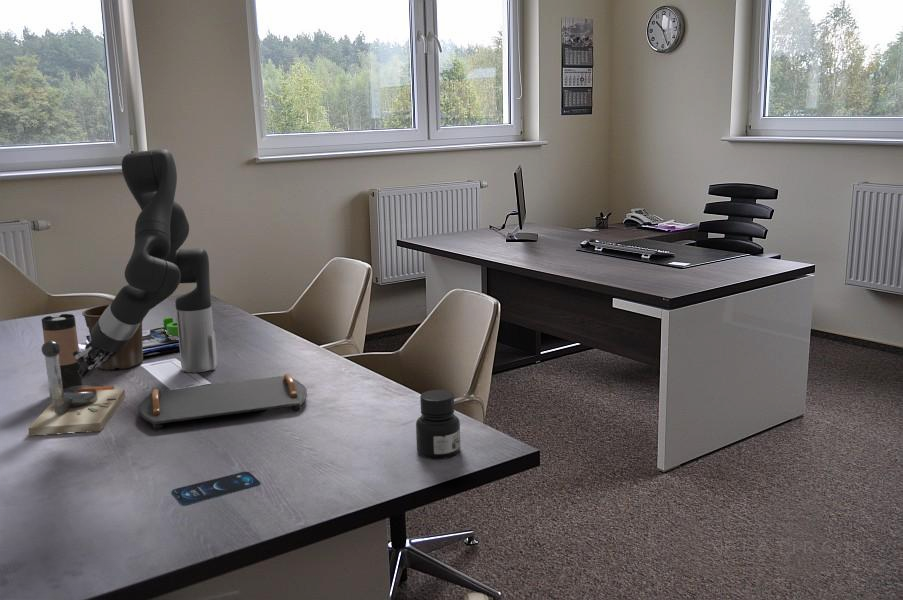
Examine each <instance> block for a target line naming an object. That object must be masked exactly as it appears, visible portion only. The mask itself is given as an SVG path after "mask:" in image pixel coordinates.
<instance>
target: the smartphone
mask: <svg viewBox="0 0 903 600" xmlns="http://www.w3.org/2000/svg"><path fill="white" fill-rule="evenodd" d="M261 483H262V482H261V481H260V480H259V479H257V478H256V477H255V476H254V475H253V474H252V473H251V472H250V471H240V472H237V473H233V474H229V475H224V476H221V477H217V478H214V479H212V478H211V479H209V480H208V479H207V480H205V481H202V482H197V483H193V484H189V485H185V486H181V487H177V488H174V489H172V490H171V494H172V495H173V496H174V498H175V499H176V500H177V502H178V503H179V502H180V503H179V504H180V505H181V504H182V506H189V505H192V504H191V503H193V504H196V503H200V502H199V501H201V502H203V501H202V500H204V501H207V500H206V499H208V500H211V499H210V498H212V499H214V498H213V497H215V498H218V497H217V496H219V497H222V496H225V495H224V494H226V495H229V494H228V493H230V494H232V492H233V493H236V491H237V492H240V491H239V490H241V491H244V490H248V489H251V487H252V488H256V487H258V486H260V485H261ZM255 486H256V487H255ZM243 489H244V490H243ZM221 495H222V496H221ZM195 502H196V503H195ZM188 504H189V505H188Z"/></svg>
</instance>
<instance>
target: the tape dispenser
mask: <svg viewBox="0 0 903 600" xmlns="http://www.w3.org/2000/svg"><path fill="white" fill-rule="evenodd" d="M175 317H176V318H175V319H176V320H177V316H175ZM162 324H163V329H164V328H167V334H169V335H175V336H178V325H177V321H174V319H173V317H172V316H169V317H164V318H163V320H162Z"/></svg>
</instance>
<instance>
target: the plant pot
mask: <svg viewBox="0 0 903 600" xmlns="http://www.w3.org/2000/svg"><path fill="white" fill-rule="evenodd" d="M110 304H111V303H110ZM110 304H104V305H96V306H93V307H90V308H87V309H85V310H84V311H82V312H81V315H82V316H83V317H84V321H85V323H86V328H87V329H88V332H89V336H90V338H91V331H92V329H93V327H94V326H95V324H96V323H97V321H98V320H99V318H100V317H101V315H102V314H103V312H104V311H105V310H106V308H107V307H108V306H109V305H110ZM143 322H144V319H143V320H142V321H141V323H140V325H139V327H138V329H137V330H136V332H135V333H134V335H133V336H132V337H131V339H130V340H129V342H128V343H127V344H126V347H125V348H124V349H123V350H122V351H120V352H119V353H118V354H116V355H115V356H114V357H112V358H111V359H110V360H109V361H107V362H106V363H101V364H100V365H99V366H98V367H97V368H98V369H99V370H103V371H114V370H115V369H120V370H124V369H131V368H135V367H137V366H138V365H140V364H142V363H143V361H144V352H143V350H144V349H143Z"/></svg>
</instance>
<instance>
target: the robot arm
mask: <svg viewBox="0 0 903 600" xmlns="http://www.w3.org/2000/svg"><path fill="white" fill-rule="evenodd" d="M121 172H122V175H123V176H122V177H123V179H124V181H125V183H126V187H127V188H128V189H129V191H130V192H131V196H132V197H133V198H134V200H135V201H136V203H137V204H138V206H139V208H140V210H141V211H140V213H139V214H138V216H137V219H136V220H135V226H134V246H133V250H132V253H131V255H130V258H129V260H128V261H127V264H126V266H125V269H124V278H125V281H126V282H127V285H125V286H123V287H122V288H121V289H120V290H119V292H117V294H116V295H115V297H114V299H113V300H112V302H110V305H109V306H108V307H107V308H106V310H105V311H104V312H103V314H102V315H101V317H100V318H99V320H98V321H97V323H96V324H95V326H94V327H93V329H92V331H91V337H90V341H89V342H88V343H86V345H85V347H84V349H83V350H82V351H80V350H79V352H78V351H75V352H74V353H73V356H74V358H75V359H76V361H77V362H78V363H79V365H80V366H81V367H80V368H79V370H78V373H79V375H80V376H81V377H82V379H85V378H89V377H90V375H92V373H93V372H94V370H95V369H96V368H98V366H99V365H100V364H101V363H106V362H107V361H109V360H110V359H111V358H112V357H114V356H115V355H116V354H118V353H119V352H120V351H122V350H123V349H124V348H125V347H126V344H127V343H128V342H129V340H130V339H131V337H132V336H133V335H134V333H135V332H136V330H137V329H138V327H139V325H140V323H141V321H142V320H143V321H144V320H145V318H146V317H147V315H148V313H149V312H150V311H151V310H152V309H154V308H156V306H159V304H160V303H162V302H164V301H165V300H166V299H168V298H169V297H171V295H173V294H174V293H175V291H176V290H177V289H178V287H179V286H180V284H196V287H195V288H194V289H193V290H191V291H189V292H187V293H185V294H182V295H180V296H178V297H176V299H175V312H176V313H175V314H176V317H177V319H176V322H177V325H178V336H179V340H178V344H179V345H178V347H179V352H180V353H179V356H180V366H181V370H182V371H181V372H184V371H185V372H184V373H190V372H193V373H196V374H197V373H205V372H208V371H214V370H216V369H217V366H218V356H217V355H218V354H217V352H218V351H217V345H216V344H217V341H216V331H214V323H213V322H214V321H213V309H212V301H211V298H212V297H211V286H210V285H211V284H210V260H209V259H210V258H209V256H208V252H207V250H206V249H204V248H181V247H182V245H183V244H184V243H185V242H186V240H187V239H188V236H189V232H190V224H189V221H188V218H187V215H186V212H185V210H184V209H183V207H182V206H181V204H179V203H178V202H177V201H175V195H176V190H177V182H178V180H177V179H178V176H177V175H178V174H177V166H176V162H175V159H174V157H173V154H172V153H171V151H169V150H168V149H165V148H164V149H159V148H158V149H151V150H150V149H148V150H141V151H135V152H130V153H127V154H125V155H124V156H123V158H122V160H121ZM143 321H142V322H143ZM193 373H192V374H193Z"/></svg>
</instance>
